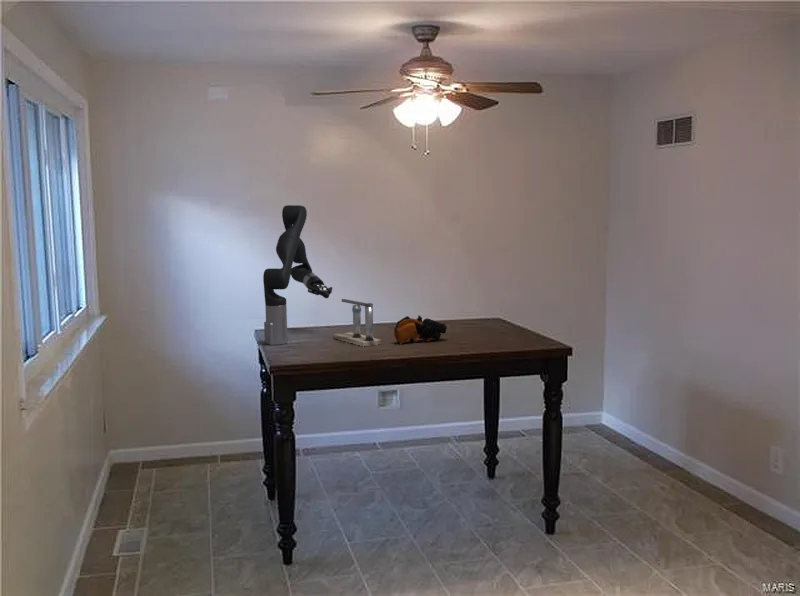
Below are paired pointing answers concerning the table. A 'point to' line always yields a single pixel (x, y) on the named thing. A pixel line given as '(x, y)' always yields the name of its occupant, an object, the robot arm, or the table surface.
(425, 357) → the table surface
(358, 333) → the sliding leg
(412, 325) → the tool
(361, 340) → the hole board
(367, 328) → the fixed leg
